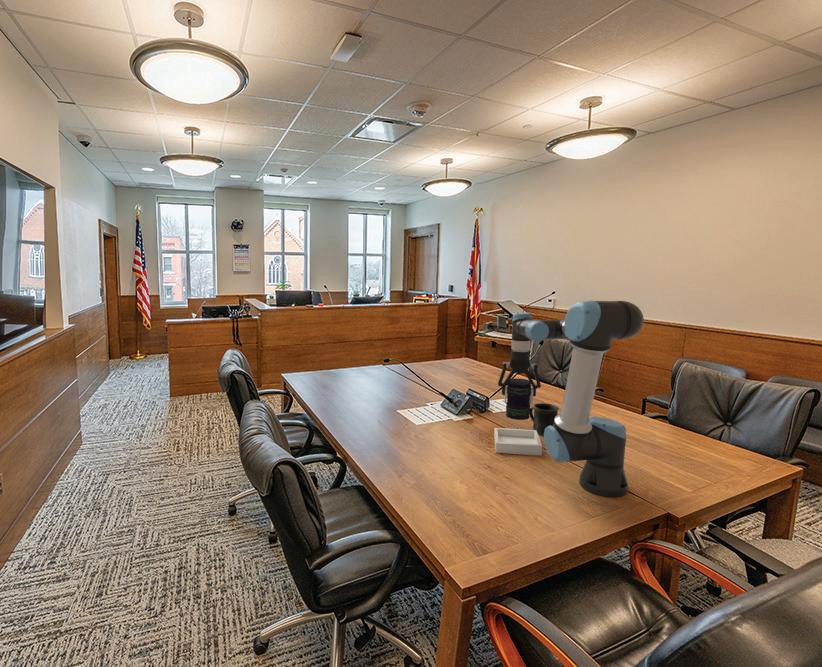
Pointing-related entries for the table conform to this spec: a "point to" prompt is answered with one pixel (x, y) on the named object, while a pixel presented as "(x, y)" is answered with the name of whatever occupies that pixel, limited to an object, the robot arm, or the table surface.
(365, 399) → the table surface
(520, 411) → the dark blue canister
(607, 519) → the table surface
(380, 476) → the table surface
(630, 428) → the table surface
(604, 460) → the robot arm
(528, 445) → the tray
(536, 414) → the mug
